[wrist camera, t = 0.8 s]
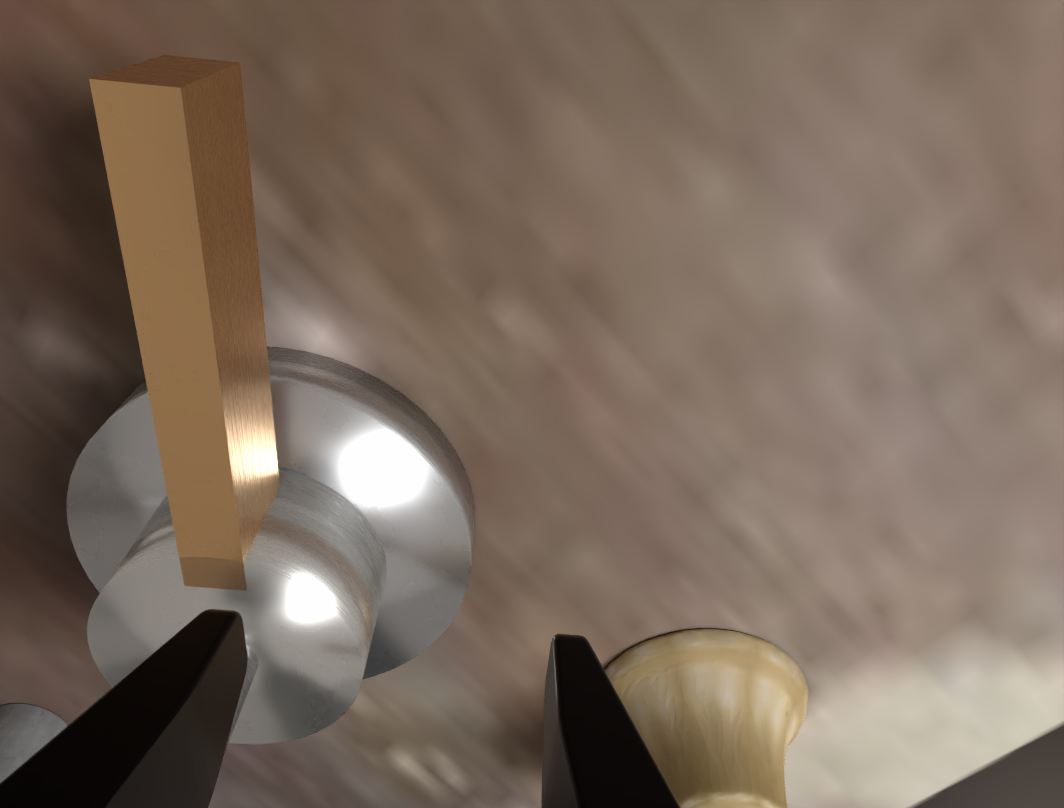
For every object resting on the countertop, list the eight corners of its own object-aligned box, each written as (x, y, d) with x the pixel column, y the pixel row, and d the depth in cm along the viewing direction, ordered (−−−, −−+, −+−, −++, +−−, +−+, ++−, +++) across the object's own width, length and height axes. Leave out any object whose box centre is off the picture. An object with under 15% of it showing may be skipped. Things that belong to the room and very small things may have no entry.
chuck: (387, 649, 25) (333, 902, 19) (168, 634, 25) (35, 884, 18) (384, 71, 16) (277, 164, 10) (42, 36, 16) (-308, 108, 9)
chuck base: (466, 652, 29) (461, 697, 27) (134, 628, 28) (108, 673, 26) (486, 365, 22) (482, 400, 21) (62, 329, 22) (21, 362, 20)
